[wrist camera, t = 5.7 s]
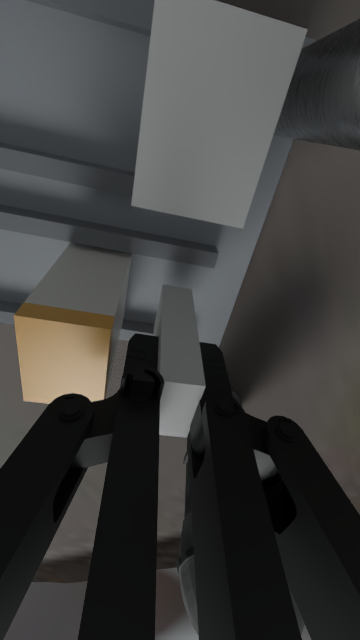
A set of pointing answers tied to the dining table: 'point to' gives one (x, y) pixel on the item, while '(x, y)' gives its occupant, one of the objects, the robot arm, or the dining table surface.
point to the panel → (102, 165)
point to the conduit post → (325, 92)
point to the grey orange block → (73, 324)
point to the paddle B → (210, 107)
